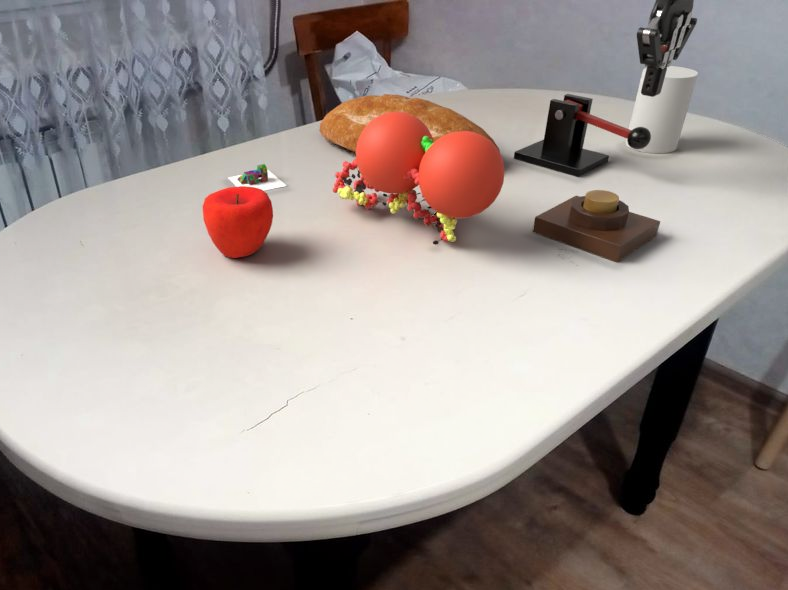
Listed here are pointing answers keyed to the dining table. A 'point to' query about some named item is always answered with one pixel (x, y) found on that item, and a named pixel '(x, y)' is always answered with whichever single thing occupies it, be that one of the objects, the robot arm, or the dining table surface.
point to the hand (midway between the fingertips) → (650, 94)
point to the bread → (358, 112)
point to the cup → (664, 109)
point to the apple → (238, 219)
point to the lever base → (564, 140)
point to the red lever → (617, 129)
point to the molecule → (423, 171)
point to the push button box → (596, 228)
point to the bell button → (601, 201)
